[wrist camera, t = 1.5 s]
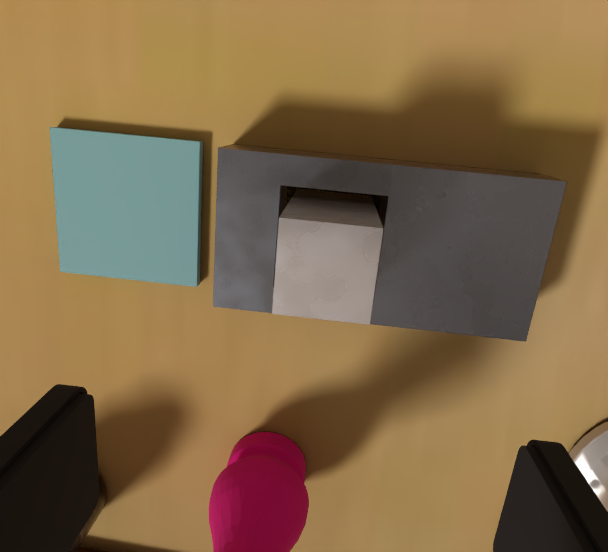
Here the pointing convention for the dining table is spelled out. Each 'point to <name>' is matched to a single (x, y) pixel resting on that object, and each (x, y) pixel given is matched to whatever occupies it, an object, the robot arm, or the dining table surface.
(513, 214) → the rail
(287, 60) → the dining table surface
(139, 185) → the teal mat
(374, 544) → the dining table surface
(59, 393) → the robot arm
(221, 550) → the pepper mill
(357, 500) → the dining table surface
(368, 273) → the steel peg
